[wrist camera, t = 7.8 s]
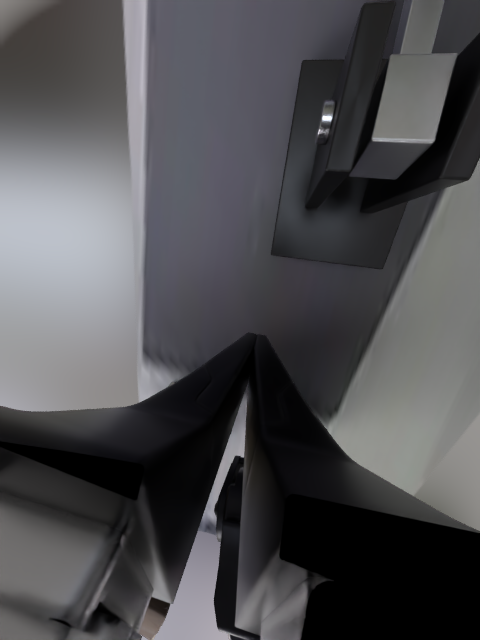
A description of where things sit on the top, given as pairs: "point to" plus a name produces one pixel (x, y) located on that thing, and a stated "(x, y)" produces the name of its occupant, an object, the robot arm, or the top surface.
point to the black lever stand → (342, 144)
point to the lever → (406, 96)
